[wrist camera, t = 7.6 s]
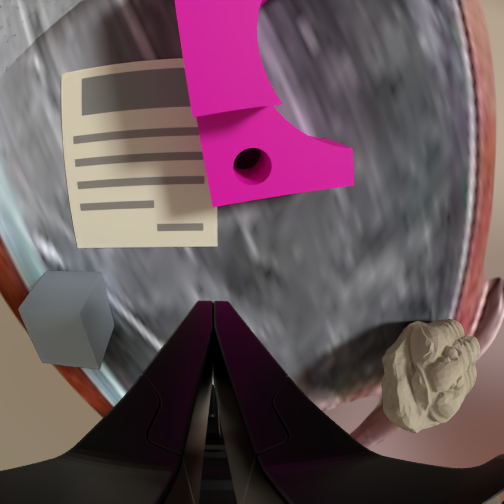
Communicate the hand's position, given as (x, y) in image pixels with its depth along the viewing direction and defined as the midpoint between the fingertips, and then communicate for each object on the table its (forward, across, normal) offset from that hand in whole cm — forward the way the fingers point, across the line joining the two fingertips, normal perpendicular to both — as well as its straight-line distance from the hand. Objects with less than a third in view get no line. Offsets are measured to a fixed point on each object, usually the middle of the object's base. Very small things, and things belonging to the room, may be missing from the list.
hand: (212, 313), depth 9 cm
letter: (+12, +5, -2) cm, 13 cm away
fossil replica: (+12, -19, +13) cm, 26 cm away
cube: (+12, +10, +9) cm, 18 cm away
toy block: (+9, +2, -8) cm, 12 cm away
